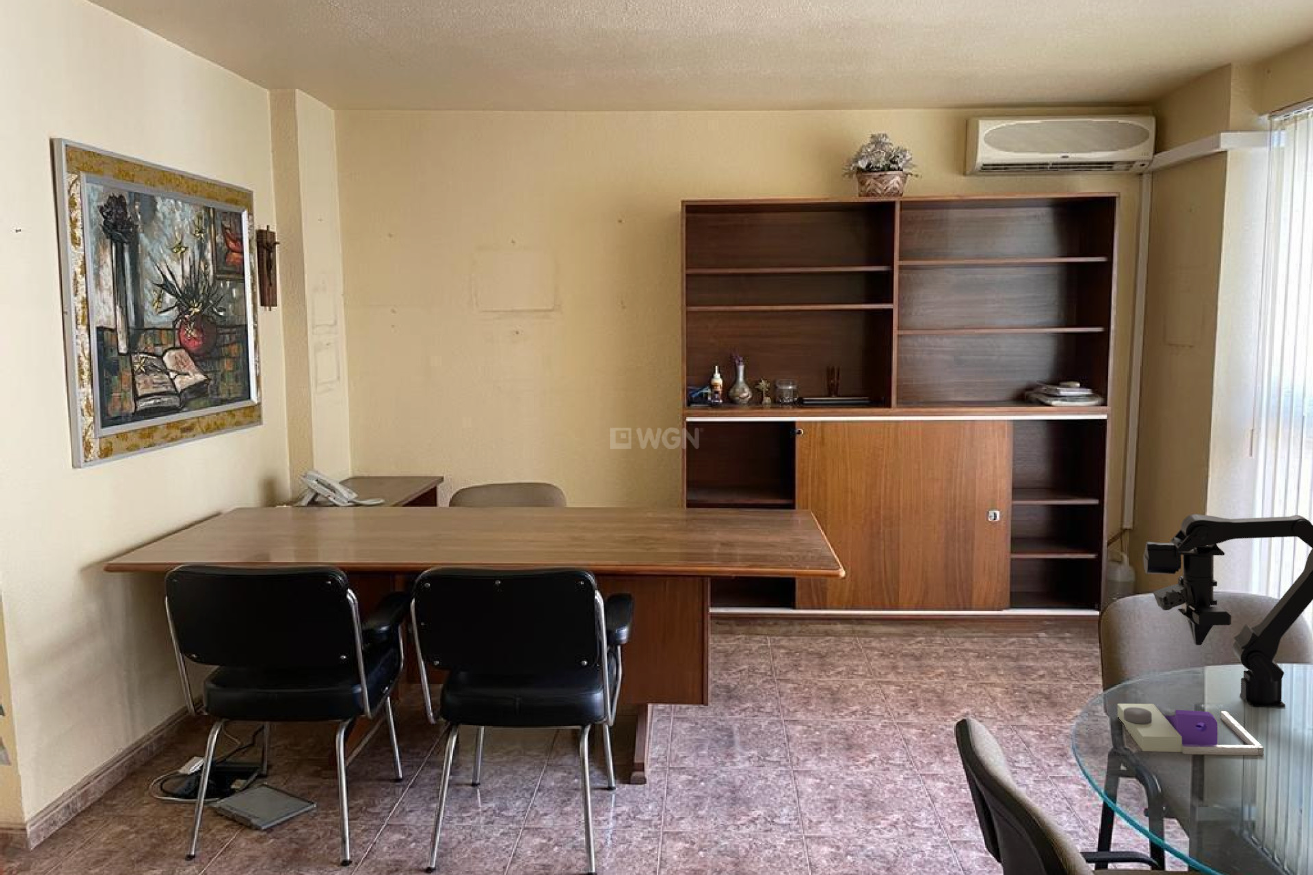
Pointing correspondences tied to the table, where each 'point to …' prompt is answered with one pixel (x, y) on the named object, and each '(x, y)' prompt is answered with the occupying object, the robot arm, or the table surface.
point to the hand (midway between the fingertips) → (1197, 644)
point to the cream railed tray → (1162, 736)
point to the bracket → (1195, 727)
